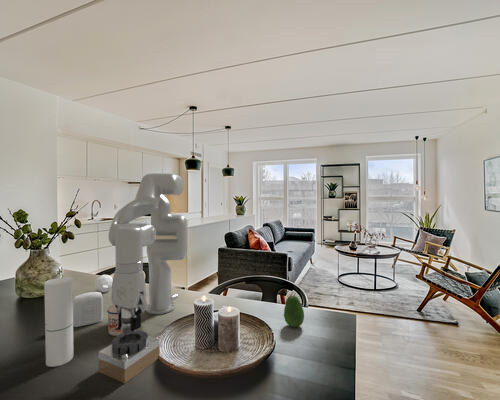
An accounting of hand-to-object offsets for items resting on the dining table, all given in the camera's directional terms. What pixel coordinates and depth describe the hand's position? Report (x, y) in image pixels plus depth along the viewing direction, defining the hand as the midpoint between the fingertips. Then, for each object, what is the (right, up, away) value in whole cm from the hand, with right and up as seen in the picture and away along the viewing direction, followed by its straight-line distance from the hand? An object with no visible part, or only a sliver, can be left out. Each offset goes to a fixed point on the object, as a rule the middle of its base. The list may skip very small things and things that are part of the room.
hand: (129, 326), depth 82 cm
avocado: (+54, -12, +24) cm, 60 cm away
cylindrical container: (-23, -12, +3) cm, 26 cm away
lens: (0, -1, 0) cm, 1 cm away
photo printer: (-28, -11, +27) cm, 41 cm away
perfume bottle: (-41, -10, +61) cm, 74 cm away
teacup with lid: (-11, -12, +21) cm, 26 cm away
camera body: (0, -12, +1) cm, 12 cm away
